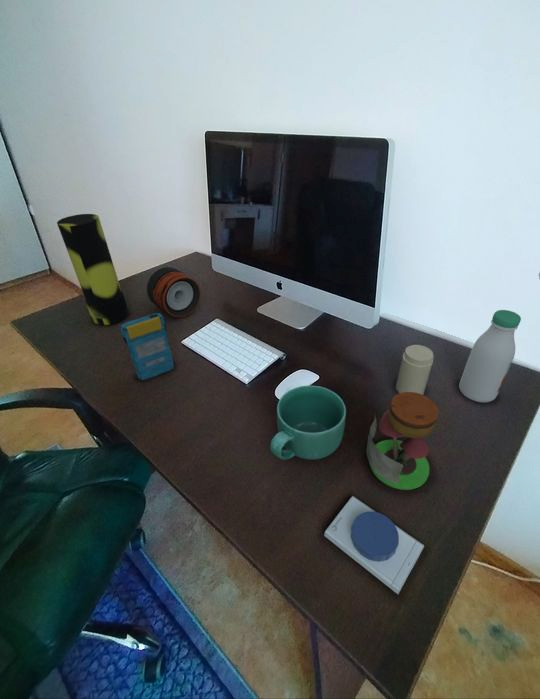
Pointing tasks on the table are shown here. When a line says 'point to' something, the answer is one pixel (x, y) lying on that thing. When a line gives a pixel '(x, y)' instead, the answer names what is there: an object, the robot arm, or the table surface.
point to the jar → (414, 369)
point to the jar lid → (374, 536)
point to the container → (94, 267)
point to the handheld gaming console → (148, 345)
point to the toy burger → (403, 456)
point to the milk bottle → (490, 358)
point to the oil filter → (173, 291)
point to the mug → (308, 423)
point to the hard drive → (386, 571)
